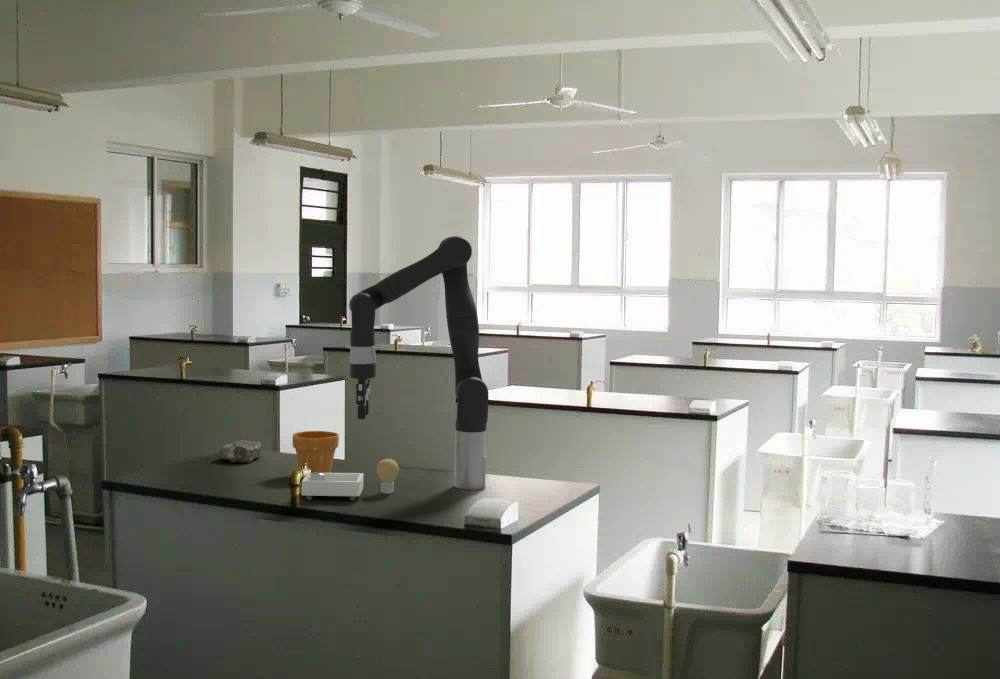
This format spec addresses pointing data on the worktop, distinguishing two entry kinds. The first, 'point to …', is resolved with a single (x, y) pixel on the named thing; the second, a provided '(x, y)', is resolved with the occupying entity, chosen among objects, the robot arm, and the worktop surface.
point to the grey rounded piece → (317, 476)
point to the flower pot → (316, 449)
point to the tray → (334, 485)
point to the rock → (241, 451)
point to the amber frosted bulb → (387, 474)
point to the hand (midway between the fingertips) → (363, 416)
